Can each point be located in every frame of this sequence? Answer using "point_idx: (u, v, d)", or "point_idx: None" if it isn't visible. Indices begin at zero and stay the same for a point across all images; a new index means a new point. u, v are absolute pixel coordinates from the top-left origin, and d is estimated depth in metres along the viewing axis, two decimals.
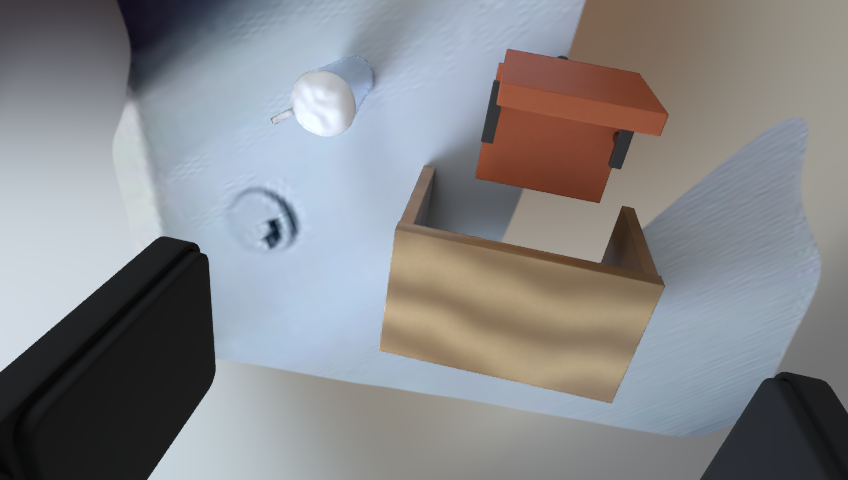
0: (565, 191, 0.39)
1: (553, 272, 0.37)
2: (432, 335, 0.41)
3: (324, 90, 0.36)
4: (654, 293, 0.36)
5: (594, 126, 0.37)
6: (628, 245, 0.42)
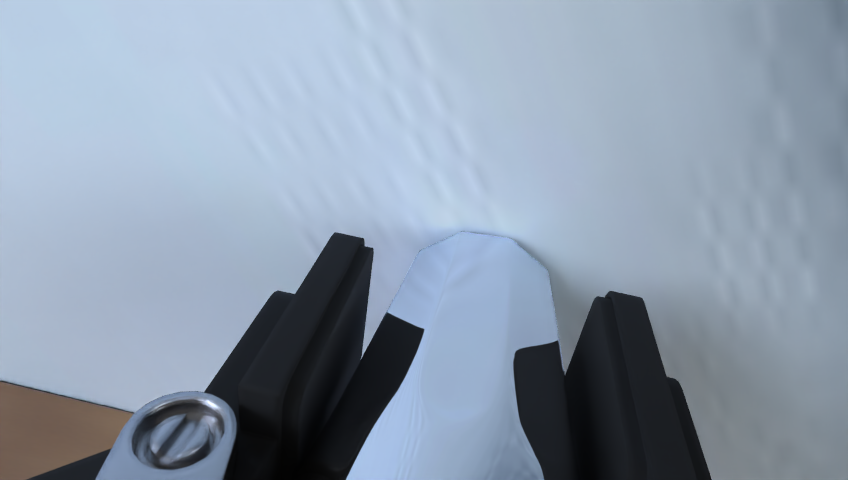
0: None
1: None
2: None
3: None
4: None
5: None
6: None
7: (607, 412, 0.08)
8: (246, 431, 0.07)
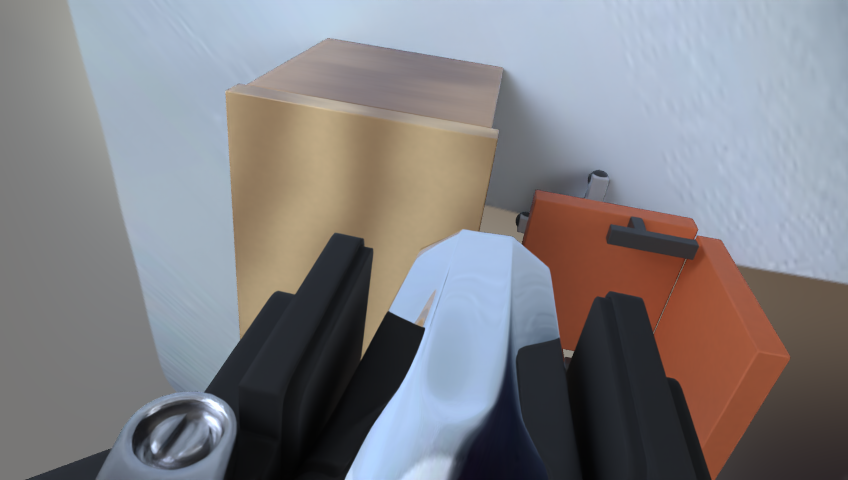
0: None
1: None
2: (289, 189, 0.24)
3: None
4: None
5: None
6: None
7: (607, 412, 0.08)
8: (246, 431, 0.07)
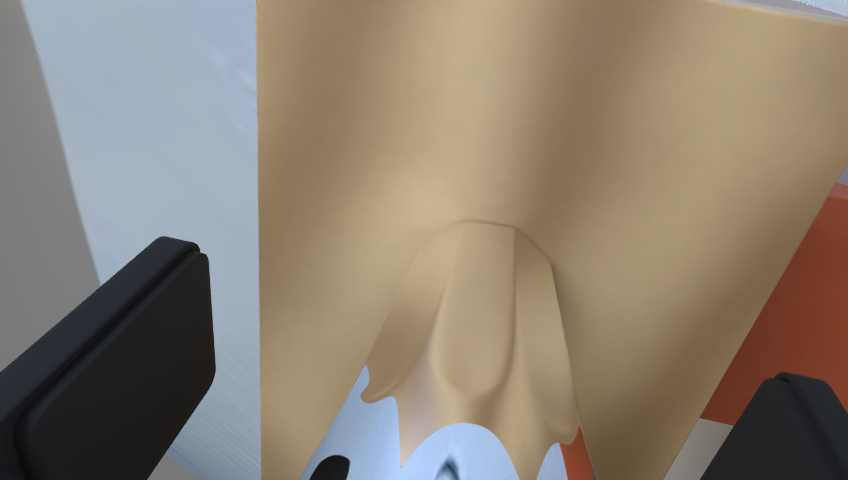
0: None
1: (638, 466, 0.14)
2: (383, 158, 0.11)
3: None
4: None
5: None
6: None
7: None
8: None
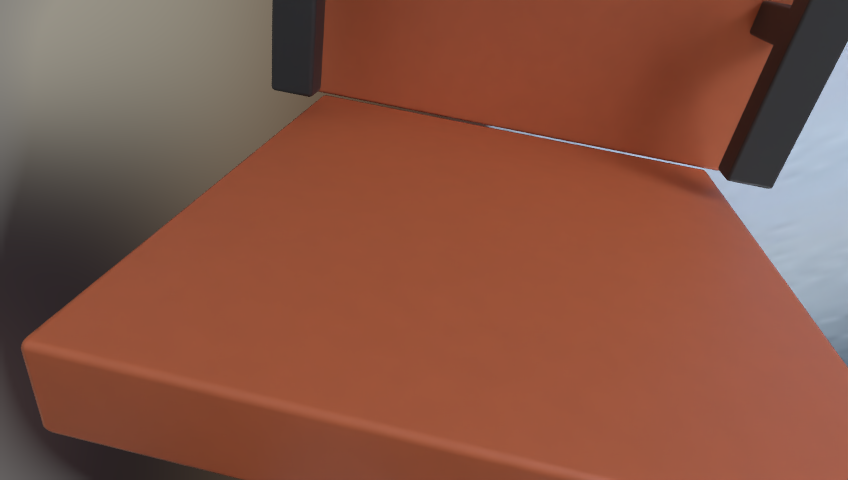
0: None
1: None
2: None
3: None
4: None
5: None
6: None
7: None
8: None
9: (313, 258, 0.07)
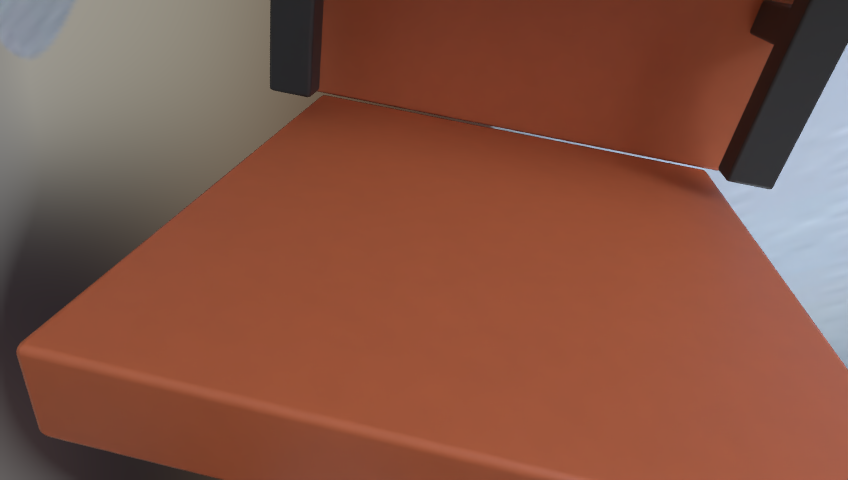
0: None
1: None
2: None
3: None
4: None
5: None
6: None
7: None
8: None
9: (310, 260, 0.07)
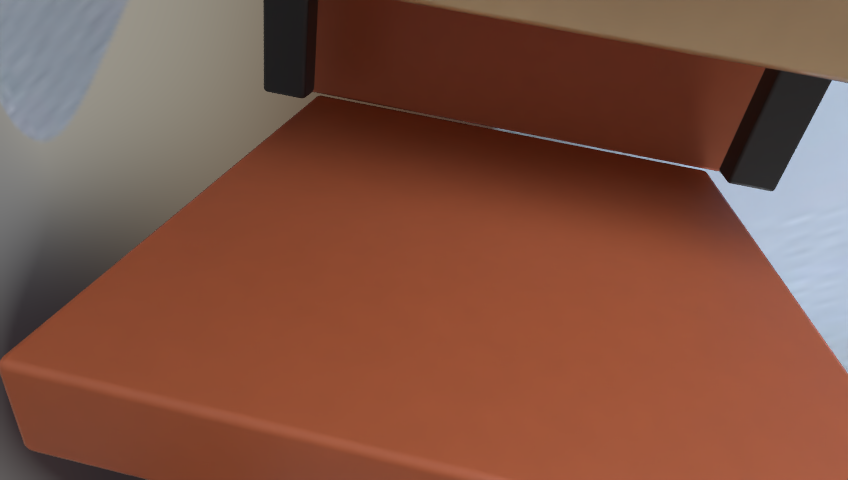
0: None
1: None
2: None
3: None
4: None
5: None
6: None
7: None
8: None
9: (303, 268, 0.07)
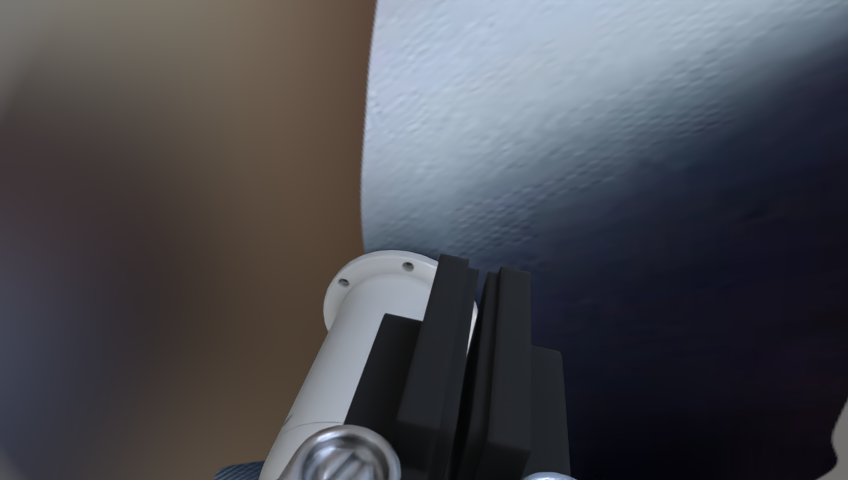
0: None
1: None
2: None
3: None
4: None
5: None
6: None
7: (473, 379, 0.08)
8: None
9: None
